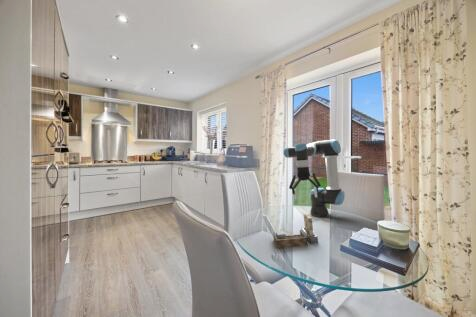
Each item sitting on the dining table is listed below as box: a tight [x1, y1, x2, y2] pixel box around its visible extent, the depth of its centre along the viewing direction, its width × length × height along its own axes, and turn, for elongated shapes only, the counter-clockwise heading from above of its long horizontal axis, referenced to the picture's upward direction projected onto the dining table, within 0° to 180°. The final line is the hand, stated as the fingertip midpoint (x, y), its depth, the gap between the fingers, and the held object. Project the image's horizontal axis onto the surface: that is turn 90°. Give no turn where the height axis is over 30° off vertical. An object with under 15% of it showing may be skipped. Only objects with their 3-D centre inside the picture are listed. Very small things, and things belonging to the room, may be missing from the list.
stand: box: [301, 226, 319, 244], centre depth 131 cm, size 16×5×4 cm, turn 178°
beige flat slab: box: [303, 212, 314, 236], centre depth 131 cm, size 11×2×15 cm, turn 178°
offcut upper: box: [275, 230, 287, 238], centre depth 130 cm, size 5×5×3 cm
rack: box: [272, 229, 309, 249], centre depth 127 cm, size 19×12×5 cm, turn 88°
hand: (305, 198), depth 131 cm, fingers open, 13 cm apart
